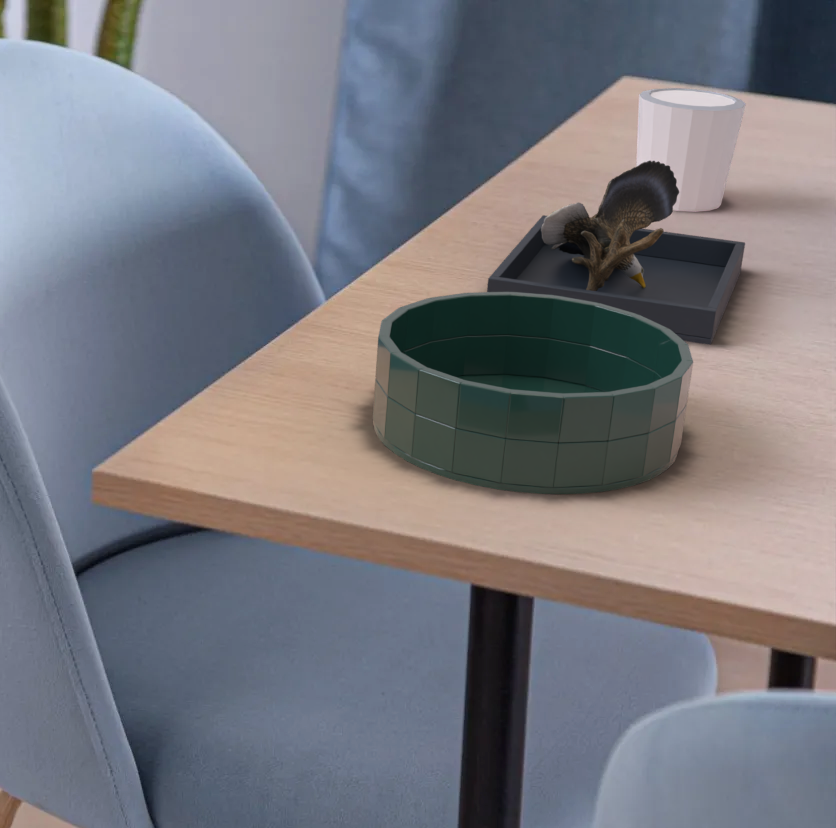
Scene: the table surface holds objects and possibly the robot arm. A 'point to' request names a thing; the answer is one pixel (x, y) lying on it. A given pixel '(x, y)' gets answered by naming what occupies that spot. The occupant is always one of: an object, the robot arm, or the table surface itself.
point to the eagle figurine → (615, 223)
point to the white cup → (690, 140)
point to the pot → (530, 392)
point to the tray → (663, 275)
